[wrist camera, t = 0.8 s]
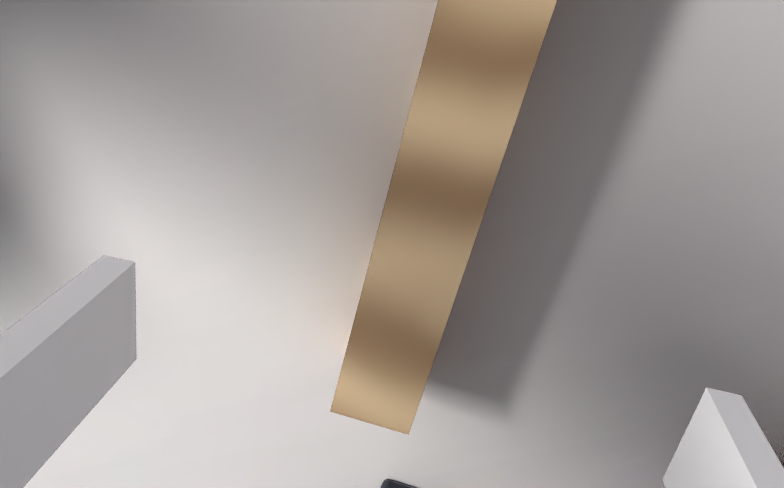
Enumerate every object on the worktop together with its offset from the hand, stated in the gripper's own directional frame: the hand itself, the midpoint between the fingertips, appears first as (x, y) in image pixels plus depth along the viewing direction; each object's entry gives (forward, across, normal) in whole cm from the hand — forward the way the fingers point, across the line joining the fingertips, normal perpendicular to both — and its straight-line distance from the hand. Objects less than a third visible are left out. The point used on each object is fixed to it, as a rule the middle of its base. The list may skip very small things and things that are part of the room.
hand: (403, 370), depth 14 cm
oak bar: (+17, 0, 0) cm, 17 cm away
